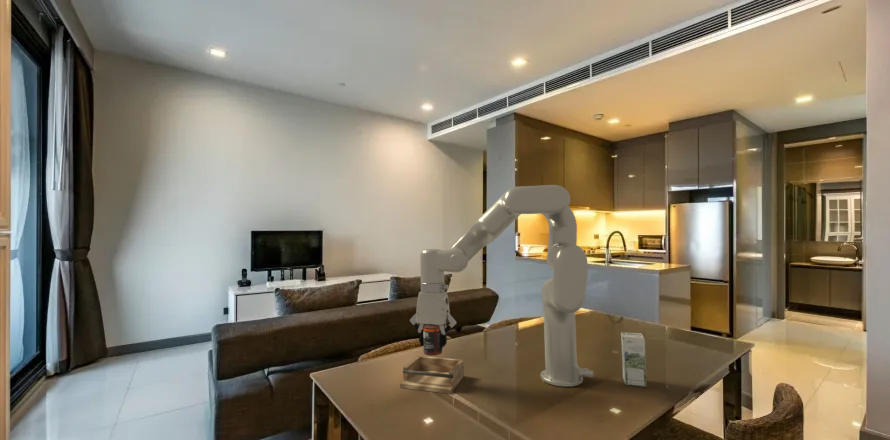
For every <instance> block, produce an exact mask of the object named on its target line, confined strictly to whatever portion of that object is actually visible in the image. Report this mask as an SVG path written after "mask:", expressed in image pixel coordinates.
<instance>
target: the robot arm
mask: <svg viewBox="0 0 890 440" xmlns="http://www.w3.org/2000/svg"><path fill="white" fill-rule="evenodd" d="M570 203H571V195H570V193H569V191H568V190H567V189H566V188H565V187H563V186H561V185H557V184H545V185H525V186H523V185H521V186H513V187H510V188H508V189H507V191H505V192H504V193H502V194H501V196H500V197H499V198H498V199H497V200H496V201H495V202H494V203H493V204H492V205H491V206H490V207H488V209H487V210H486V211H484V213H483V214H481V215H480V217H479V218H478V219H477V220H476V221H475V222H474V223H473V224H472V226H471V227H470V228H469V229H468V230H467V232H466V233H465V234H463V236H461V237H460V238H459V240H457V242H455V244H454V245H452V247H451V248H448V249H438V248H429V249H428V248H427V249H425V248H424V249H422V250H421V251H420V291H419V292H418V295H417V300H416V308H415V309H416V310H415V311H416V313H415V314H413V315H412V317H411V318H409V323H410V324H412V325H413V327H414V328H415V329H416V331H417V333H418V338H419V339H418V341H419V343H420V344H419V345H420V347H424V344H423V326H424V324H425V325H426V324H433V325H439V327H440V330H441V335H440V347H441V348H442V349H443V348H444V347H445V346H446V345H447V343H448V342H447V341H448V340H447V338H448V337H447V335H448V333H449V331H450V330H452V328H453V327H455V325H457V321H456V319H455V318H454V317H453V316H452V315H451V313H450V312H451V310H450V303H449V295H448V292H447V291H446V290H449V285H448V284H446V282H445V272H448V273H453V274H454V273H461V272H463V271H465V270H466V269H467V267H468V264H469V261H471V260H472V259H473V258H474V257H475V256H476V255H477V254H478V253H479V252H480V251H481V250H482V249H483V248H484V247H486V246H487V245H489V244H491V243H493V242H494V241H495V240H496V239H497V238H499V236H500V235H501V234H503V233H504V231H505V230H506V229H508V227H510V226H511V224H512V223H514V222H515V221H516V220H517V219H518V218H519V217H520V216H521V215H537V214H539V215H541V214H542V216H543V217H544V218H545V219H546V220H547V221H546V222H547V223H548V224H547V225H548V243H547V244H548V245H547V253H546V263H547V266H548V267H549V268H550V270H552V271H553V277H550V278H548V279H547V280H546V281H545V282H544V283H543V284H542V287H541V296H540V297H541V304H542V312H543V313H542V314H543V326H544V327H543V336H544V365H545V366H544V367H545V369H544V370H542V371H541V372H540V379H541V380H542V381H544V382H545V383H547V384H550V385H552V386H557V387H563V388H564V387H565V388H567V387H568V388H569V387H576V386H579V385H581V384H583V382H584V377H587V378H594V370H589V368H586V367H584V368H582V367H581V366H579V363H578V356H577V355H578V354H577V332H576V331H577V325H576V324H577V323H576V322H577V321H576V314H575V313H577V312H578V311H579V310H580V309H581V308H582V307H583V305H584V303H585V300H586V293H587V284H588V283H587V281H588V280H587V279H588V267H589V265H588V258H587V255H586V252H585V251H584V250H583V249H582V248H581V247H580V246H579V245H577V243H578V241H577V237H578V235H577V234H578V227H577V226H578V225H577V220H576V216H575V214H574V212H573V210H572V208H571V207H570V206H569V205H570ZM447 323H449V324H448V325H447Z"/></svg>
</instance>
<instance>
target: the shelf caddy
mask: <svg viewBox="0 0 890 440" xmlns="http://www.w3.org/2000/svg"><path fill="white" fill-rule="evenodd" d="M402 369H403V370H402V373H403V380H402V381H401V382H400V383H399V387H400V389H401V388H402V389H410V390H415V391H416V390H417V391H422V392H423V391H426V392H433V393H441V394H446V395H447V394H448V395H451V394H452V393H453V392H454V390H455V389H456V388H457V386H458V385H459V383H460V382H461V381H462V380H463V378H464V376H465V373H464V372H465V366H464V359H458V358H457V359H456V358H448V357H447V358H446V357H437V356H436V357H435V356H428V355H426V356H425V355H417V356H415V358H413V359H412V360H411V361H409V362H408V363H407V364H405V365H404V366H403V368H402Z"/></svg>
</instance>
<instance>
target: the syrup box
mask: <svg viewBox="0 0 890 440" xmlns="http://www.w3.org/2000/svg"><path fill="white" fill-rule="evenodd" d="M620 336H621V339H620V340H621V361H622V363H621V364H622V365H621V366H622V379H623V382H624V384H625V386H633V387H643V388H647V369H646V368H647V366H646V363H647V362H646V361H647V360H646V339H645V338H644V337H645V336H644V335H643V334H642V333H638V332H621V333H620Z"/></svg>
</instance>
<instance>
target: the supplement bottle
mask: <svg viewBox="0 0 890 440" xmlns="http://www.w3.org/2000/svg"><path fill="white" fill-rule="evenodd" d="M440 335H441V330H440V327H439V325H433V324H426V325H425V324H424V326H423V344H424V345H423V354H424V355H426V356H428V357H435V356H439V355H441V354H442V353H443V348H441V347H440Z"/></svg>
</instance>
